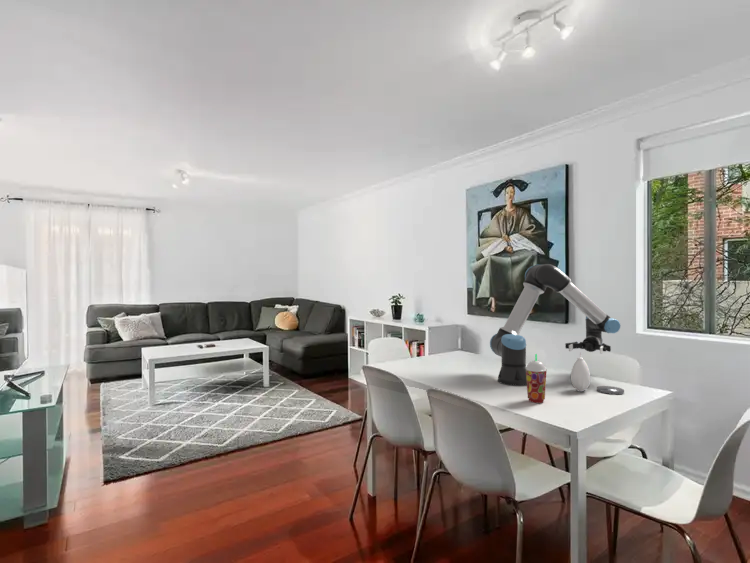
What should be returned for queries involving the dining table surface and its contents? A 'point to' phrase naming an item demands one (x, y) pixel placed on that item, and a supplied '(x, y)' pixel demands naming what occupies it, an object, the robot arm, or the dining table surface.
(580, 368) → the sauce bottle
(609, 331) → the robot arm
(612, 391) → the hub disc
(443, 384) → the dining table surface
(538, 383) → the smoothie
